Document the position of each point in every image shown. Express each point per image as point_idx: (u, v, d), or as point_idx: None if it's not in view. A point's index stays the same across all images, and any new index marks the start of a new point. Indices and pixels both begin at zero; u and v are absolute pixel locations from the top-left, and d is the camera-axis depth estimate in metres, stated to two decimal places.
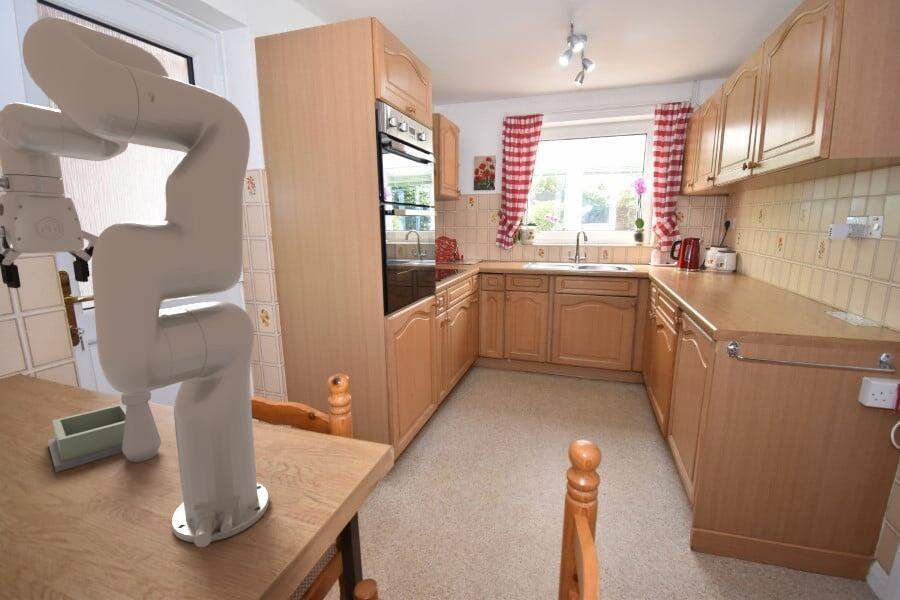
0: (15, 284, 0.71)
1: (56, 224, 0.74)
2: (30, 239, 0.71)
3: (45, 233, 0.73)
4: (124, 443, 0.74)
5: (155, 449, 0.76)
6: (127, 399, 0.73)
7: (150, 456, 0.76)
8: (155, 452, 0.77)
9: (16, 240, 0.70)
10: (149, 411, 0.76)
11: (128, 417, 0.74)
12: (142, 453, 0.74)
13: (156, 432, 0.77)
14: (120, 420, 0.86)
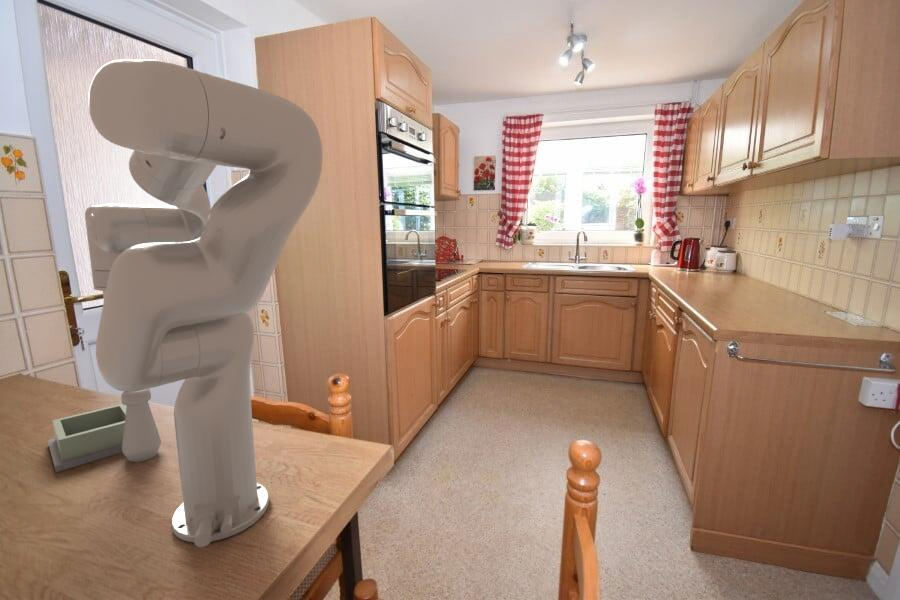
0: None
1: None
2: None
3: None
4: (124, 443, 0.74)
5: (155, 449, 0.76)
6: (127, 399, 0.73)
7: (150, 456, 0.76)
8: (155, 452, 0.77)
9: None
10: (149, 411, 0.76)
11: (128, 417, 0.74)
12: (142, 453, 0.74)
13: (156, 432, 0.77)
14: (120, 420, 0.86)
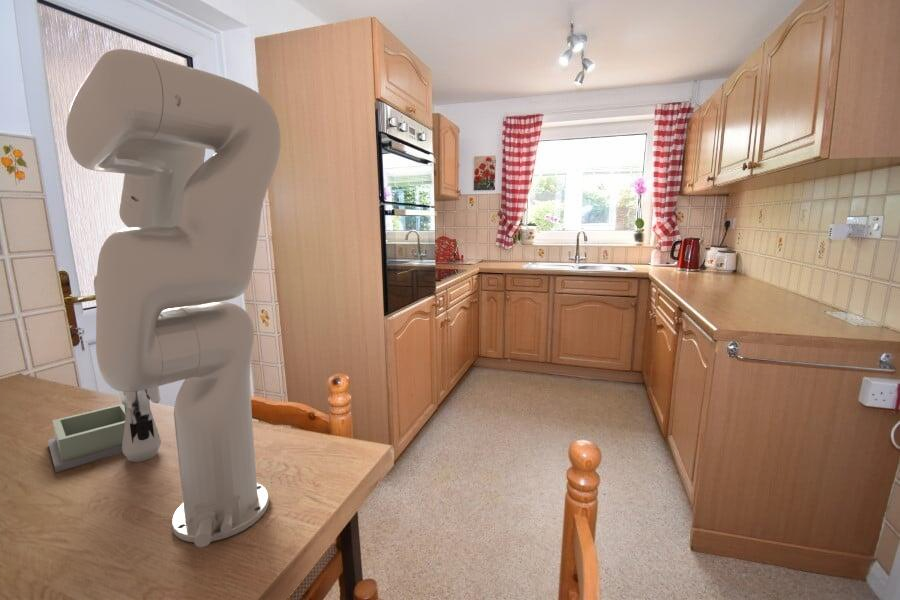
0: (153, 435, 0.76)
1: None
2: None
3: None
4: (124, 443, 0.74)
5: (155, 449, 0.76)
6: None
7: (150, 456, 0.76)
8: (155, 452, 0.77)
9: None
10: None
11: (128, 417, 0.74)
12: (142, 453, 0.74)
13: (156, 432, 0.77)
14: (120, 420, 0.86)
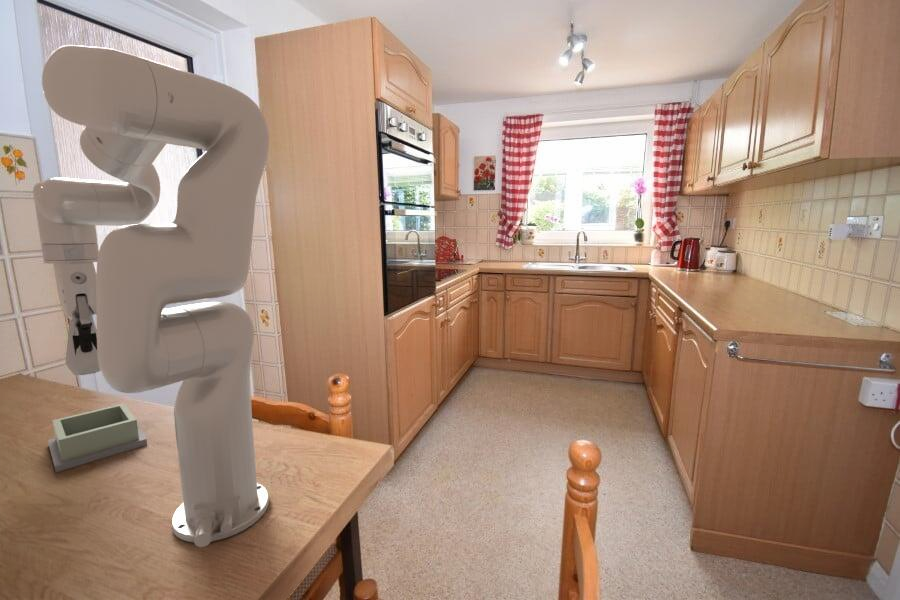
0: None
1: None
2: None
3: None
4: (67, 355, 0.75)
5: None
6: None
7: (94, 370, 0.77)
8: None
9: None
10: None
11: (71, 330, 0.75)
12: (86, 365, 0.75)
13: None
14: (120, 420, 0.86)
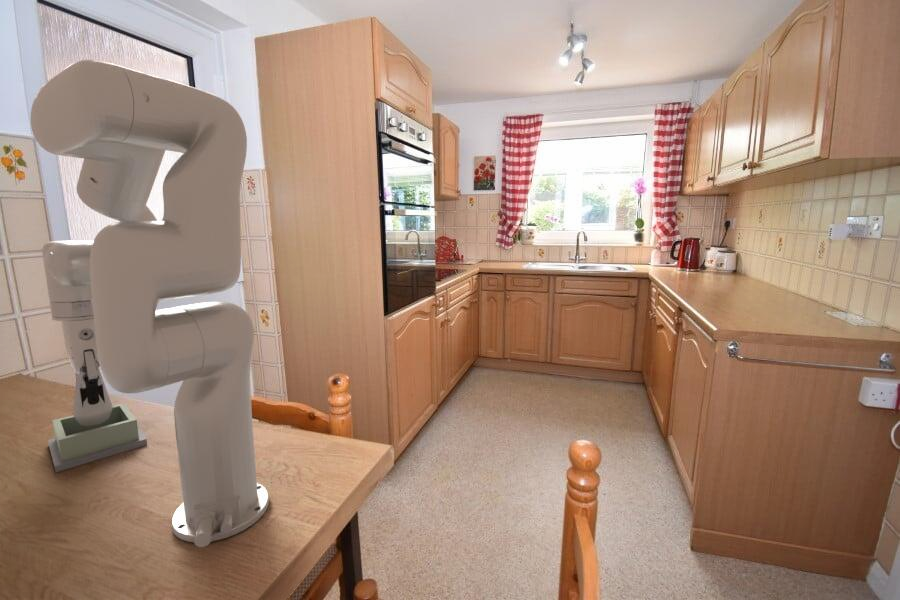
0: (104, 401, 0.79)
1: None
2: None
3: None
4: (74, 407, 0.77)
5: (106, 414, 0.79)
6: None
7: (101, 420, 0.79)
8: (106, 417, 0.80)
9: None
10: None
11: (78, 382, 0.77)
12: (92, 417, 0.77)
13: (107, 398, 0.80)
14: (120, 420, 0.86)
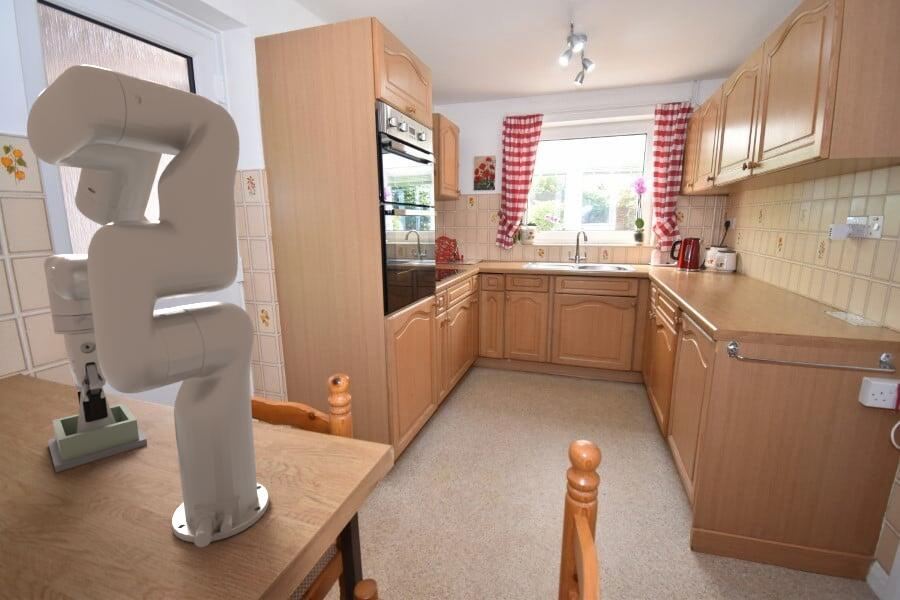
0: (107, 414, 0.78)
1: None
2: None
3: None
4: (78, 426, 0.77)
5: None
6: None
7: None
8: None
9: None
10: (104, 396, 0.79)
11: (82, 402, 0.77)
12: None
13: (111, 416, 0.80)
14: (120, 420, 0.86)
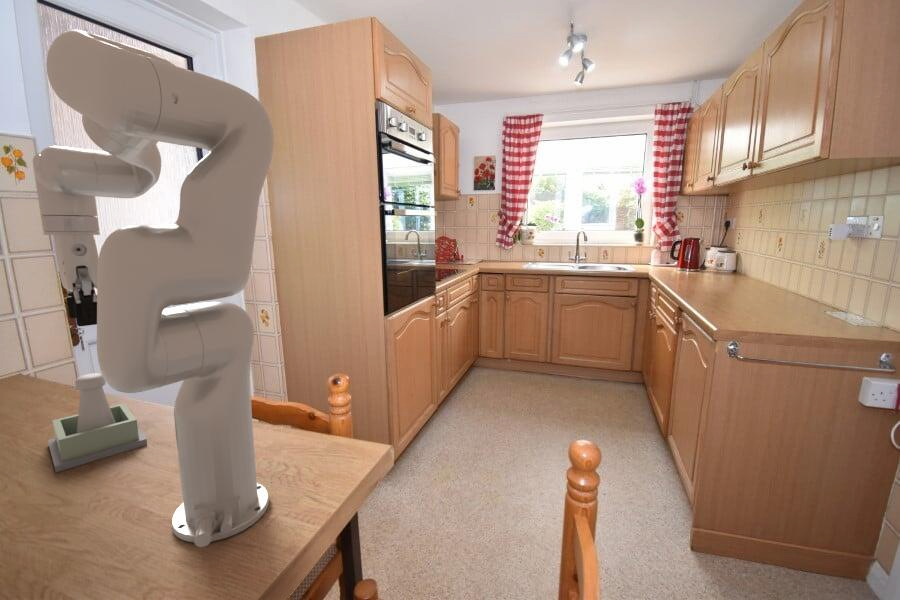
0: None
1: None
2: None
3: None
4: (78, 426, 0.77)
5: None
6: (80, 384, 0.76)
7: None
8: None
9: None
10: (103, 396, 0.79)
11: (82, 402, 0.77)
12: None
13: (111, 416, 0.80)
14: (120, 420, 0.86)
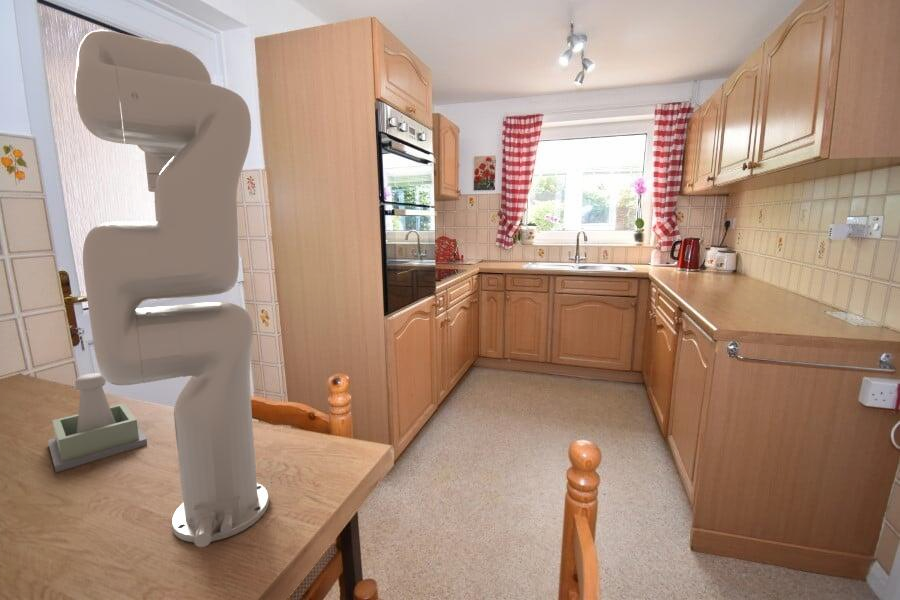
0: None
1: None
2: None
3: None
4: (78, 426, 0.77)
5: None
6: (80, 384, 0.76)
7: None
8: None
9: None
10: (103, 396, 0.79)
11: (82, 402, 0.77)
12: None
13: (111, 416, 0.80)
14: (120, 420, 0.86)
